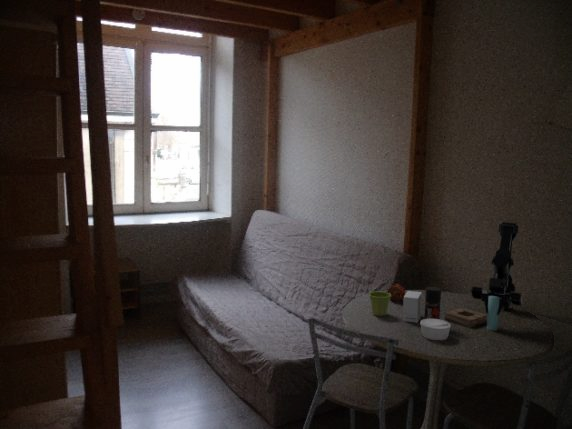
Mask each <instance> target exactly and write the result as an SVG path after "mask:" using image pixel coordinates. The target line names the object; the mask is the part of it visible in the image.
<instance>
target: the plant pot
mask: <svg viewBox="0 0 572 429" xmlns="http://www.w3.org/2000/svg"><path fill="white" fill-rule="evenodd" d="M386 292H387V291H371V292H369V293H368V295H369V298H370V303H371V311H372V312H371V313H372V315H374V316H379V317H381V316H386V315H387V314H388V308H389V304H390V303H389V301H390V297H391V294H389V293H386Z"/></svg>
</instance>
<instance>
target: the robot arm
mask: <svg viewBox="0 0 572 429" xmlns="http://www.w3.org/2000/svg"><path fill="white" fill-rule="evenodd" d="M498 232H499V236H500V244H499V249H497V250H496V251H495V255H493V257H492V260H491V265H492V270H493V275H492V277H489V280H488V290H487V289H483V287H482V286H476V285H474V286H471V290H470V292H471V296H472V298H473V299H476V300H481V302H483V303H484V306H485V307H484V308H485V314H488V300H489V296H497V297H499V298H500V299H499V309H498V316H500V315H501V314H502V313H503V311H508V310H511V309H513V306H522V304H523V297H522V293H521V292H516V286H515V283H514V280H513V278H512V276H511V268H512V267H513V266H515V260H514V258H513V256H512V252H513V242H515V240H516V239H517V237H518V234H519V233H520V225H519V224H517V222H512V221H511V222H509V221H502V223H498ZM512 305H513V306H512Z"/></svg>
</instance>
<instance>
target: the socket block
mask: <svg viewBox="0 0 572 429" xmlns="http://www.w3.org/2000/svg"><path fill="white" fill-rule="evenodd" d="M487 315H488V314H486V313H482V312H478V311H474V310H470V309H467V308H464V307H460V308H456V309H452V310H450V311H445V312H444V321H446V322H451V323H454V324H458V325H460V326H464V327H467V328H473V327H475V326H478V325H479V326H480V325H482V324H485V323H487Z"/></svg>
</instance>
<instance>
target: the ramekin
mask: <svg viewBox="0 0 572 429" xmlns="http://www.w3.org/2000/svg"><path fill="white" fill-rule="evenodd" d="M419 323H420V324H419V325H420V329H421V335H422V337H424V338H425V339H427V340H430V339H431V340H432V341H437V340H440V341H445V340H447V339H448V337H449V333H450V331H451V323H449V321H447V320H445V319H440V320H439V319H420V322H419ZM431 340H430V341H431Z"/></svg>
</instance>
